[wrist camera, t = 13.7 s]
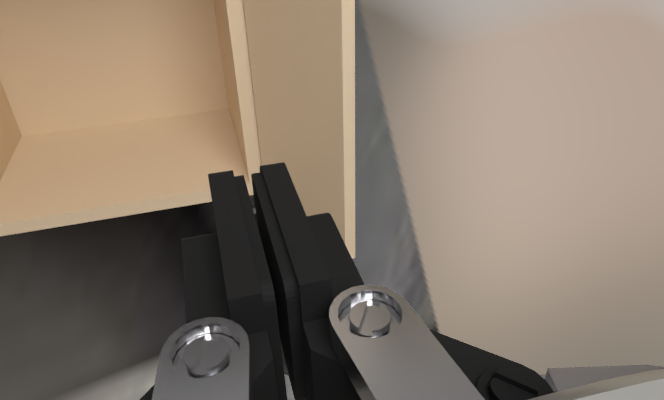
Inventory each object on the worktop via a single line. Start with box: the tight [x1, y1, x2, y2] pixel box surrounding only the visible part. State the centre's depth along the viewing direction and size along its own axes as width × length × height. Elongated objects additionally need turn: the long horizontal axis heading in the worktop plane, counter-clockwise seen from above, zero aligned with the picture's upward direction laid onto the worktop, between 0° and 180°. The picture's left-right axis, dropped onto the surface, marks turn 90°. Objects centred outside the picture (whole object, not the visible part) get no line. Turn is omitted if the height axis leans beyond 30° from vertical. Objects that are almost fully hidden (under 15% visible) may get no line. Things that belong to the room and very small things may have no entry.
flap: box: [243, 0, 355, 259], centre depth 23 cm, size 20×8×1 cm
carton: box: [0, 0, 261, 236], centre depth 29 cm, size 20×16×12 cm
